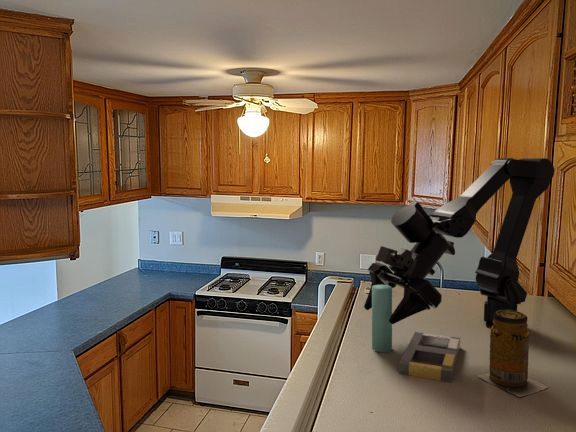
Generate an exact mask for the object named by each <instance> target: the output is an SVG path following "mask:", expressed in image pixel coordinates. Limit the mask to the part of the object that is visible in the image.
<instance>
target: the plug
mask: <svg viewBox="0 0 576 432" xmlns="http://www.w3.org/2000/svg"><path fill="white" fill-rule="evenodd" d="M392 314H393V288H392V287H391V286H388V285H374V286H372V308H371V337H372V338H371V346H372V347H371V349H372V350H373V351H374V350H375V351H374V352H376V351H377V352H376V353H382V354H387V353H390V352H392V351H393V324H391V323H390V322H389V319H390V317H391V315H392ZM391 350H392V351H391ZM386 352H387V353H386Z"/></svg>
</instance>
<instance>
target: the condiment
mask: <svg viewBox="0 0 576 432" xmlns="http://www.w3.org/2000/svg"><path fill="white" fill-rule="evenodd" d="M493 316H494V320H493V324H494V325H493V326H492V327H490V334H489V337H490V338H489V340H490V343H489V365H488V366H489V367H488V368H489V372H487V373H482V374H480V375H479V374H478V375H477V377H478V378H479V379H482V380H483V381H485V382H487V383H488V384H490V385H493V386H496V387H497V388H500V389H501V390H504V391H506V392H507V393H510V394H513V395H514V396H516V397H518V398H520V397H526V396H529V395H532V394H535V393H538V392H540V391H543V390H545V389H547V388H549V386H547V385H545V384H543V383H540V382H539V381H536V380H534V379H532V378H529V377H528V375H529V352H530V351H529V350H530V333H529V330H528V326H529V325H528V316H527V315H526V314H525V313H523V312H521V311H518V310H517V311H513V310H498V311H496V312H495V313H494V315H493Z"/></svg>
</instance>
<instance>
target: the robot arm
mask: <svg viewBox="0 0 576 432" xmlns="http://www.w3.org/2000/svg"><path fill="white" fill-rule="evenodd" d="M555 171H556V169H555V167H554V165H553V163H552V162H551V160H550V159H549V158H545V157H541V158H540V157H537V158H536V157H535V158H534V157H533V158H531V157H529V158H519V159H517V158H516V159H515V158H513V157H500V158H499V157H498V158H496V159H493V160H492V161H491V162H490V164H489V166H488V168H486V169H485V171H483V172H482V174H481V175H480V176H479V177H478V178H476V179H475V181H473V182H472V183H471V184H470V185H469V187H467V189H466V190H465V191H463V192H462V194H460V196H458V197H457V198H455V199H453V200H450V201H448V202H445V203H444V204H443V205H441V206H440V207H439V208H437V209H436V210H434V212H433V213H431V214H428V213H427V212H426V211H425V209H424V207H423V206H422V205H421V203H419V202H418V201H411V202H410V203H409V204H408V205H406V206H404V207H402V208H400V209H399V210H397V211H395V213H394V214H393V215H392V217H391V220H390V221H391V224H392V226H393V227H394V228H395V229H396V231H398V232H399V233H400V234H401V236H402V237H403V238H404V239H405V240H406V241H407V242H408V243H411V244H414V243H415V244H414V245H413V247H412V248H411V250H409V249H406V248H403V247H400V248H399V250H396V249H392V248H389V247H386V246H382V245H381V246H380V248H379V250H378V251H377V252H378V253H377V256H376V258H375V261H377V262H373V263H371V264H370V265H369V267H368V268H367V271H368V275H369V277H370V280H371V285H370V288H369V291H368V295H367V297H366V300H365V302H364V305H363V308H364V309H365V310H366V311H369V310H371V309H372V286H374V285H388V286H391V287H392V289H394V288H396V287H397V286H399V287H401V288H403V297H402V299H400V302H399V303H398V305H397V306H396V308H395V309H394V311H392V315H391V317H390V319H389V322H390V323H391V324H392V325H395V324H396V323H399V322H401V321H403V320H404V319H407V318H409V317H411V316H413V315H416V314H418V313H422V312H423V311H425V310H427V311H429V310H431V308H433V309H435V310H436V309H437V308H438V307H439V305H440V304H441V303H442V300H443V299H442V298H443V297H442V295H443V294H442V293H441V292H439V291H438V289H437V288H436V287H435V286H434V285H433V284H432V283H431V281H430V280H427V279H426V278H427V276H428V275H430V276H434V274H435V273H436V271H435V269H434V267H435V266H436V264H437V263H438V262H439V261H440V259H441V258H442V257H443V255H444V254H448V255H452V256H454V255H456V249H455V242H454V241H450V240H447V239H446V237H445V236H447V237H451V238H459V239H460V238H464V237H465V236H466V235H467V234H468V233H469V231H470V230H471V228H472V227H473V226H474V224H475V223H476V220H477V214H478V212H479V211H480V210H481V208H483V207H484V206H485V205H486V203H488V201H489V200H490V199H492V197H493V196H494V195H495V194H496V193H497V192H498V191H499V190H500V189H501V188H502V187H503V186H504V185H505V184H506V183H507V182H509V184H510V188H511V193H512V194H511V198H510V200H509V203H508V207H507V208H506V209H507V210H506V211H505V212H506V213H505V215H504V217H503V221H502V224H501V227H500V230H499V234H498V236H497V239H496V242H495V245H494V248H493V251H492V252H491V253H490V254H489V255H488V256H487V257H486V256H481V257H480V259H479V262H478V266H477V269H476V270H475V272H474V273H475V274H476V275H475V282H476V284H477V286H478V289H479V292H480V295H482V296H485V297H486V300H485V301H484V304H483V321H484V322H485V327H488V328H491V327H492V326H493V325H494V324H493V320H494V316H493V315H494V313H495V312H496V311H498V310H513V311H518V305H521V304H522V303H525V302H526V299H527V296H528V292H527V291H526V290H525V288H524V287H523V286H522V285H521V284H520V283H519V277H520V269H519V266H518V261H517V258H518V255H519V251H520V248H521V246H522V242H523V239H524V236H525V233H526V231H527V228H528V225H529V221H530V219H531V216H532V214H533V213H532V212H533V209H534V206H535V203H536V200H537V199H538V198H539V197H540V196H541V195H542V194H543V193H544V192H545V191H547V189H548V188H549V186H550V184H551V182H552V180H553V178H554V175H555ZM380 262H382V263H380ZM387 265H388V266H387Z"/></svg>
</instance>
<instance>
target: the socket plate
mask: <svg viewBox="0 0 576 432" xmlns="http://www.w3.org/2000/svg"><path fill="white" fill-rule="evenodd" d="M460 349H461V337H455V336H450V335H449V336H447V335H439V334H433V333H427V332H420V331H415V332H414V333H413V335H412V337H411V339H410V341H409V343H408V345H407V347H406V348H405V351H404V353H403V355H402V357H401V359H400V361H399V362H398V374H402V375H408V376H413V377H419V378H425V379H429V380H430V379H431V380H436V381H441V382H447V383H452V380H453V376H454V372H455V369H456V365H457V361H458V356H459V353H460ZM416 361H422V363H420V362H416ZM423 362H427V363H428V364H427V363H423ZM429 363H434V364H439V365H440V366H439V365H434V364H429Z"/></svg>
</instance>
